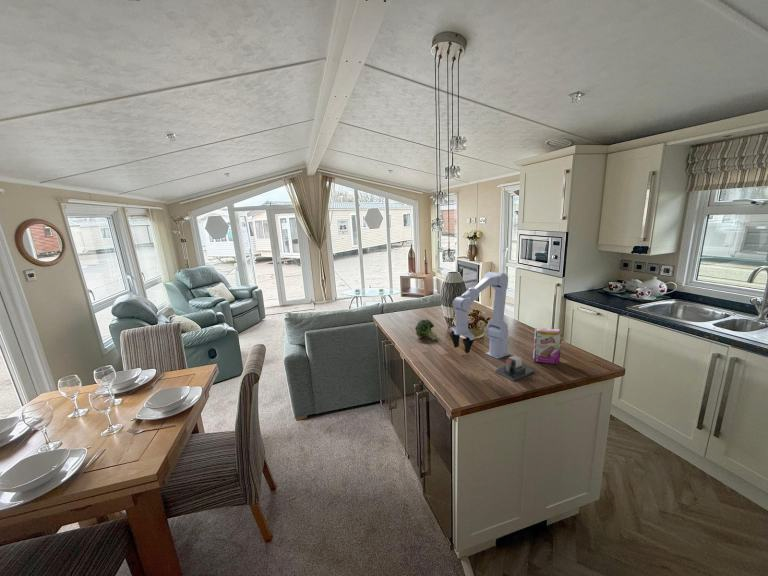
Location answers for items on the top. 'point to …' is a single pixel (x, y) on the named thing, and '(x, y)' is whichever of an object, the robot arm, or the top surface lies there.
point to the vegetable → (425, 329)
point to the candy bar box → (547, 345)
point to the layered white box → (515, 362)
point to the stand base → (514, 371)
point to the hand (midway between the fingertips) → (461, 349)
